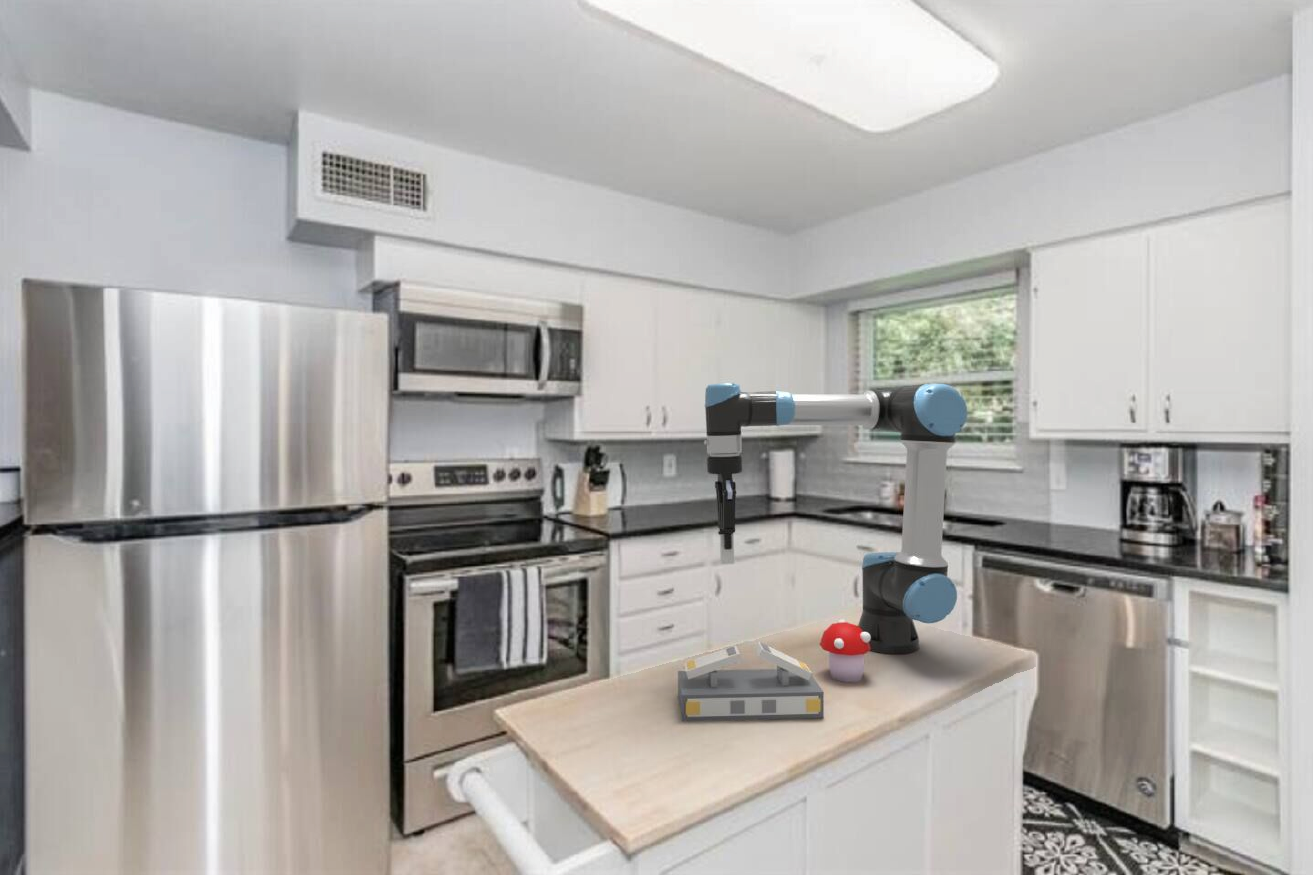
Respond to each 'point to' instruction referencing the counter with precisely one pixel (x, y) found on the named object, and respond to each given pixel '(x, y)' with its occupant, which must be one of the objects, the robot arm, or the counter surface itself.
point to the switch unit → (749, 695)
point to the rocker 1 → (712, 662)
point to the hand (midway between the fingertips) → (727, 563)
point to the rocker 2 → (782, 660)
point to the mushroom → (845, 650)
